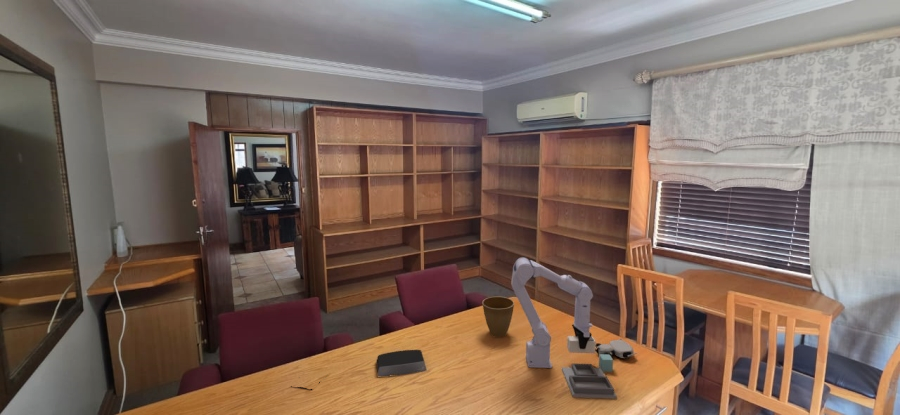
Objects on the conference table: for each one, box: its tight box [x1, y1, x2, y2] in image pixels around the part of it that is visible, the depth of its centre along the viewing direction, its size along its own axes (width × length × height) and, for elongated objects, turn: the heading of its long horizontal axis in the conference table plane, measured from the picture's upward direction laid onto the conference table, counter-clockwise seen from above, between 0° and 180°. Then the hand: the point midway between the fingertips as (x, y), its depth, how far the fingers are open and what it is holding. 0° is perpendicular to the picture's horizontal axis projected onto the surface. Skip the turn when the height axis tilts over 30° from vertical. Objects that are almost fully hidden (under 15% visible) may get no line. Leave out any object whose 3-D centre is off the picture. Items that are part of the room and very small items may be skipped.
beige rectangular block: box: [566, 335, 597, 354], centre depth 148 cm, size 10×4×5 cm, turn 86°
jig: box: [561, 362, 618, 400], centre depth 136 cm, size 15×17×3 cm
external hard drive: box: [376, 349, 427, 377], centre depth 149 cm, size 13×19×4 cm
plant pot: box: [482, 296, 515, 339], centre depth 174 cm, size 15×15×16 cm
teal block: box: [598, 354, 614, 373], centre depth 145 cm, size 4×4×5 cm
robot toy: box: [595, 338, 638, 359], centre depth 156 cm, size 12×4×15 cm
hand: (580, 345), depth 148 cm, fingers closed on beige rectangular block, 4 cm apart
